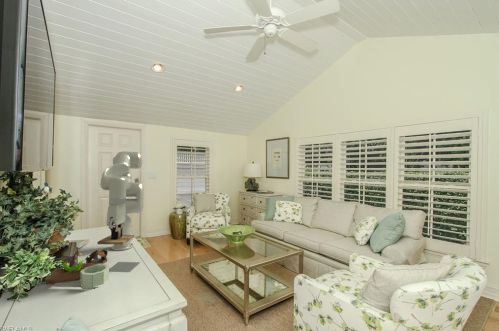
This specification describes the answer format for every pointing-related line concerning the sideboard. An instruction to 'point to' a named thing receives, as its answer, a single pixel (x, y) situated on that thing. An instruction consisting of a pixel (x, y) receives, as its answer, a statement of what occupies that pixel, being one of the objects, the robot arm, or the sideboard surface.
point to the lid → (119, 241)
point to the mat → (123, 266)
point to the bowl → (94, 276)
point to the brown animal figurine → (95, 256)
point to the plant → (68, 270)
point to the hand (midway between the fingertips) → (116, 237)
